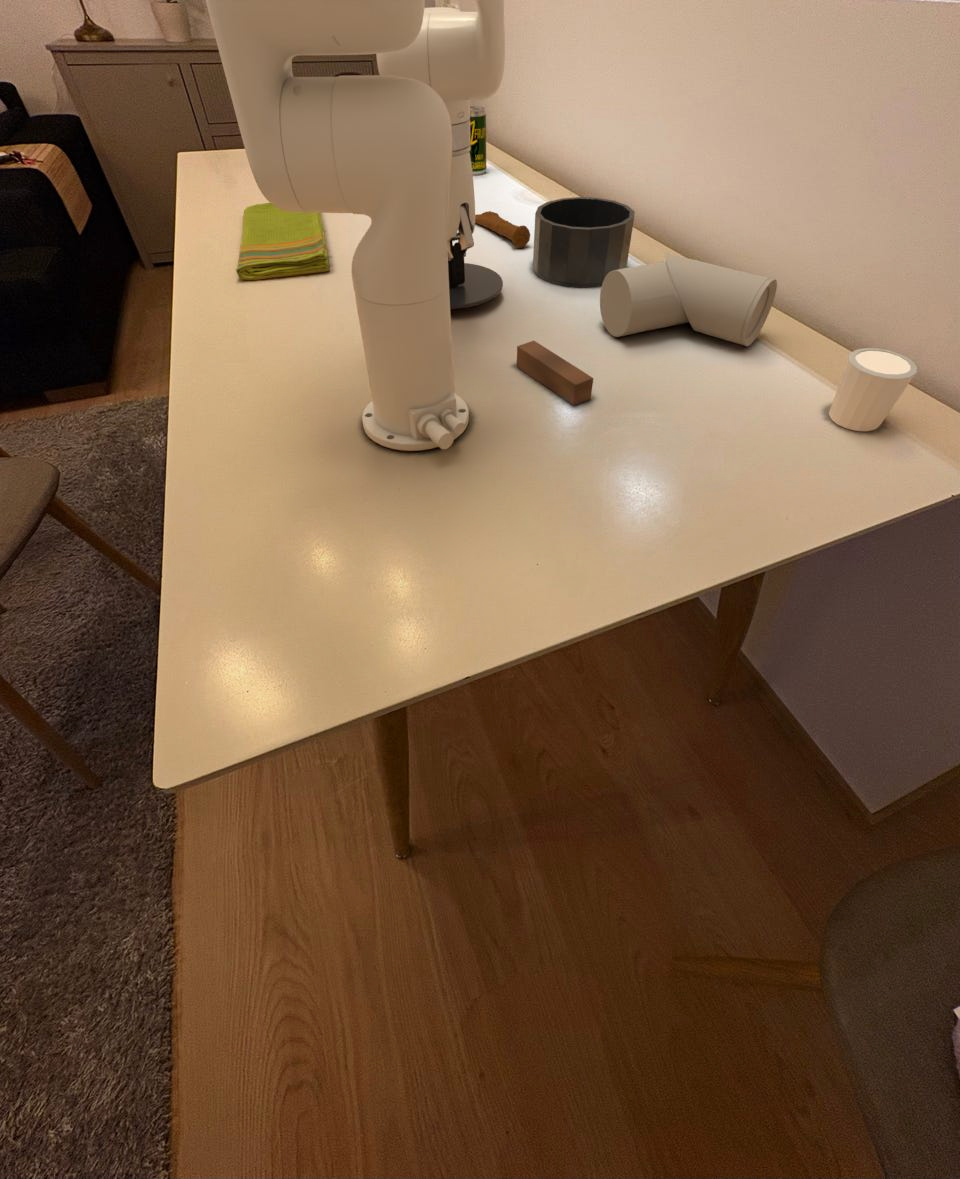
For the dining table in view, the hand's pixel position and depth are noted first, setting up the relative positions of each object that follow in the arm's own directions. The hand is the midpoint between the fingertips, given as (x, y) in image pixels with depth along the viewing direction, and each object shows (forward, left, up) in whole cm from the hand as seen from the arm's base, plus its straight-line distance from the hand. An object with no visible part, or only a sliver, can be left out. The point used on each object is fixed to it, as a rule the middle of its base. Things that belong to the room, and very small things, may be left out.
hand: (449, 280), depth 94 cm
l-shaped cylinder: (-30, -21, -3) cm, 37 cm away
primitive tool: (+20, -23, -3) cm, 31 cm away
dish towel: (+40, +13, -3) cm, 42 cm away
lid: (0, 0, -1) cm, 1 cm away
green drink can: (+57, -42, -3) cm, 71 cm away
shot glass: (-57, -21, -3) cm, 61 cm away
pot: (-3, -24, -2) cm, 24 cm away
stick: (-30, +3, -2) cm, 30 cm away
